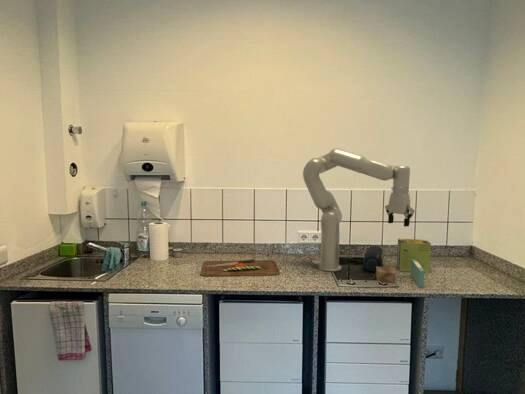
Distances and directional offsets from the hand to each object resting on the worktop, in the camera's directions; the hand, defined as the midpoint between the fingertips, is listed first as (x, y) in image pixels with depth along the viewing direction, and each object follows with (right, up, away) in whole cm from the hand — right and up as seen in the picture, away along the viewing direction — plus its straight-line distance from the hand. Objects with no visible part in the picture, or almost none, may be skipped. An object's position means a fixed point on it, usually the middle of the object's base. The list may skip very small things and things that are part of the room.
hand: (398, 224), depth 199 cm
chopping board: (-80, -25, +12) cm, 85 cm away
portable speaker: (-8, -25, +18) cm, 31 cm away
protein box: (+12, -25, +14) cm, 31 cm away
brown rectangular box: (-8, -27, -4) cm, 28 cm away
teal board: (+7, -27, -6) cm, 29 cm away
